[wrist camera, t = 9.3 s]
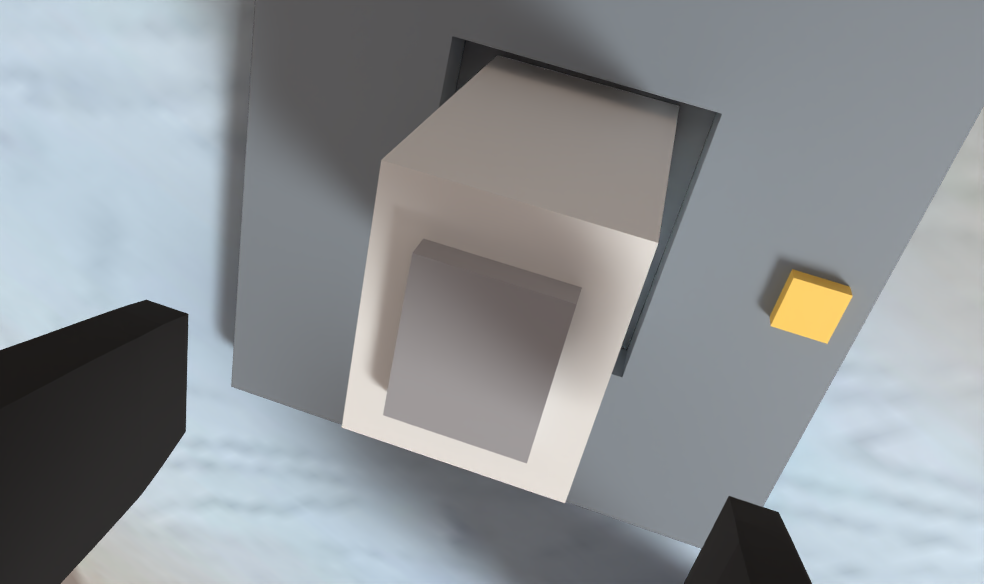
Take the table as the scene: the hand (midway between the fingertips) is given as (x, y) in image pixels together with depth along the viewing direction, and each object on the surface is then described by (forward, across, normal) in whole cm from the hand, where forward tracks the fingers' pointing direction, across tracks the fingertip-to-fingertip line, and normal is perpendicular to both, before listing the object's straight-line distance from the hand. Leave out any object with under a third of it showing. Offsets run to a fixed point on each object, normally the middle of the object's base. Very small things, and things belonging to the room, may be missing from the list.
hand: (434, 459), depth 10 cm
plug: (+9, 0, 0) cm, 9 cm away
